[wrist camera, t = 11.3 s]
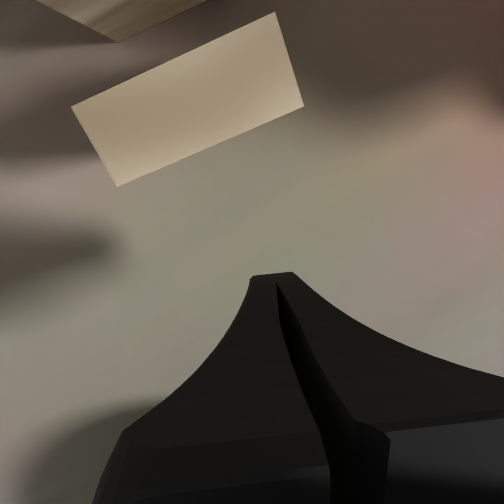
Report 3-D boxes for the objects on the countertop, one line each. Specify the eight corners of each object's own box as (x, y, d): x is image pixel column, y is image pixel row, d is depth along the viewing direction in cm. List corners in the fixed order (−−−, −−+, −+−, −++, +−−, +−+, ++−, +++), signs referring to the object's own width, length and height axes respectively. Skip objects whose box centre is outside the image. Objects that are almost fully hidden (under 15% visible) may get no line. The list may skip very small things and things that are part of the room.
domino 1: (269, 103, 15) (303, 106, 8) (169, 147, 16) (117, 186, 9) (252, 56, 15) (275, 11, 7) (148, 103, 15) (70, 106, 8)
